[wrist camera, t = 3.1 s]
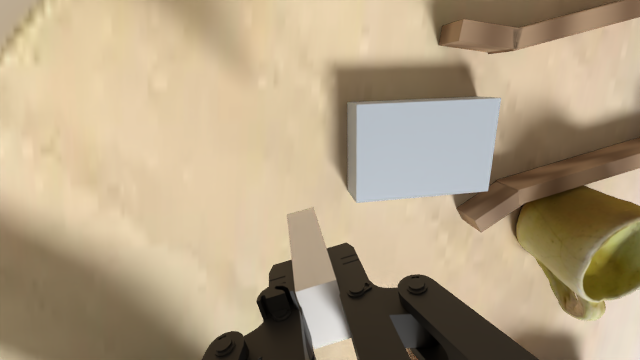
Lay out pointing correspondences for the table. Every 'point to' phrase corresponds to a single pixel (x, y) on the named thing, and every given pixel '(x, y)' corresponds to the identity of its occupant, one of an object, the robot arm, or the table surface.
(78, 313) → the table surface
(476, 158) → the pale blue block
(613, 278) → the mug
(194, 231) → the table surface
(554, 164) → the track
